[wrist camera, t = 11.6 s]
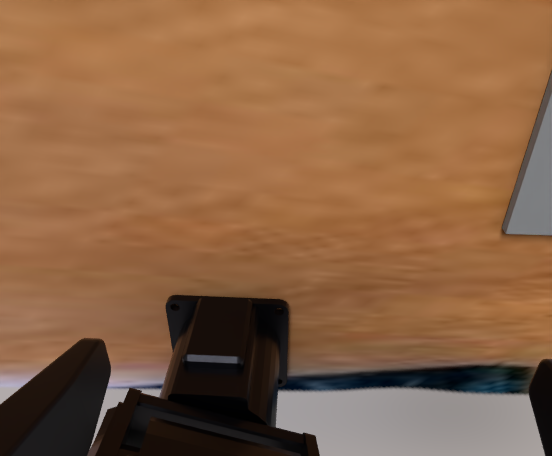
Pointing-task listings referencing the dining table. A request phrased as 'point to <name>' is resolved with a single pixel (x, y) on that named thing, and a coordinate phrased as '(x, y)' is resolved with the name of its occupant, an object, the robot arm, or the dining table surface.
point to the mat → (534, 179)
